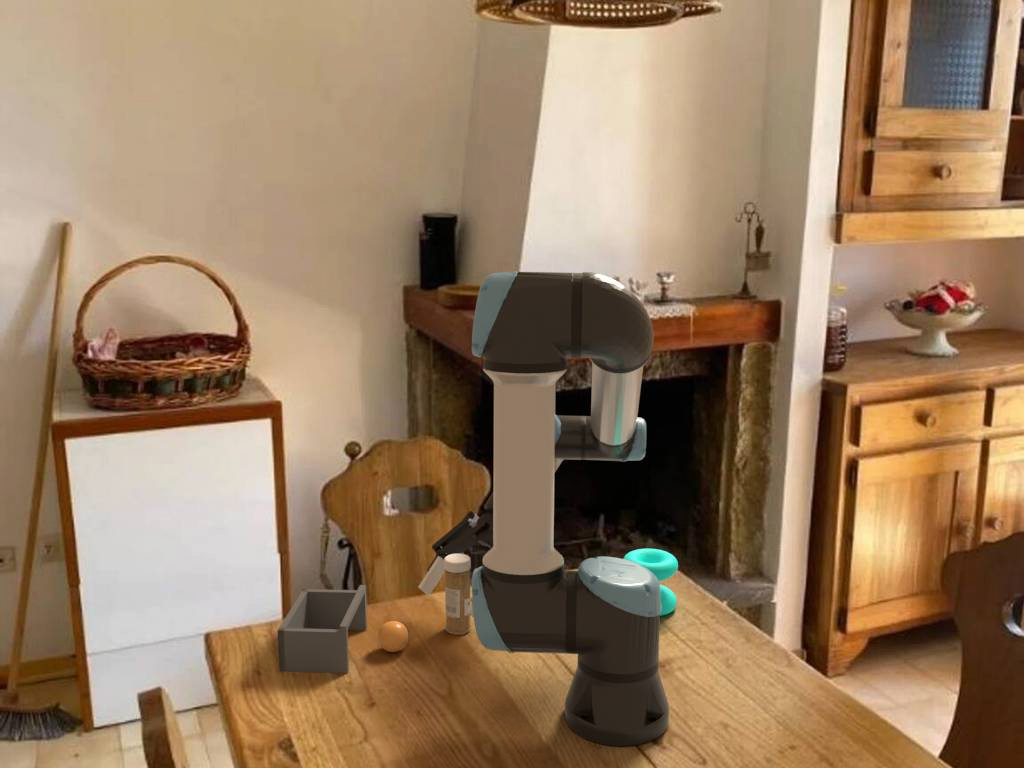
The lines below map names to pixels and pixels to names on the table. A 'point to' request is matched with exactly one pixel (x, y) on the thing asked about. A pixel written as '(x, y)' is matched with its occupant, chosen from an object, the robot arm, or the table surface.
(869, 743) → the table surface
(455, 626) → the sprinkles bottle
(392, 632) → the ball
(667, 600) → the donuts
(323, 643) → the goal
